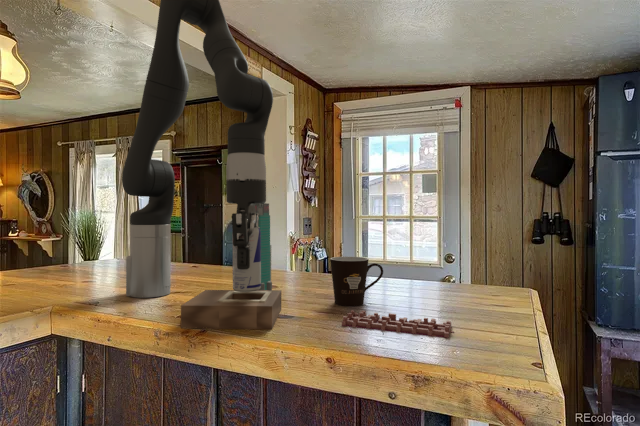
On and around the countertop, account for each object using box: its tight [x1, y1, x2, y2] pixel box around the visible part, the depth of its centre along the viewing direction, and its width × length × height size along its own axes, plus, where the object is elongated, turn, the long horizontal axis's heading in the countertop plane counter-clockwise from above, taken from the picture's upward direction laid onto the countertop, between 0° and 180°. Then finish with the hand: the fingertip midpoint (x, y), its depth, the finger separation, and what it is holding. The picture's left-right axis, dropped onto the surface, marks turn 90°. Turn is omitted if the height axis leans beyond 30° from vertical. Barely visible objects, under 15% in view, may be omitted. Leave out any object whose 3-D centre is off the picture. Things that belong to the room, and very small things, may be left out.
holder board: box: [180, 289, 282, 330], centre depth 77 cm, size 16×14×4 cm
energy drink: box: [232, 227, 261, 292], centre depth 77 cm, size 5×5×12 cm
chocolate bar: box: [341, 310, 455, 339], centre depth 72 cm, size 7×19×2 cm, turn 68°
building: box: [255, 202, 273, 290], centre depth 98 cm, size 6×6×30 cm
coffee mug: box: [329, 256, 384, 308], centre depth 89 cm, size 12×9×10 cm
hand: (246, 266), depth 77 cm, fingers closed on energy drink, 5 cm apart
